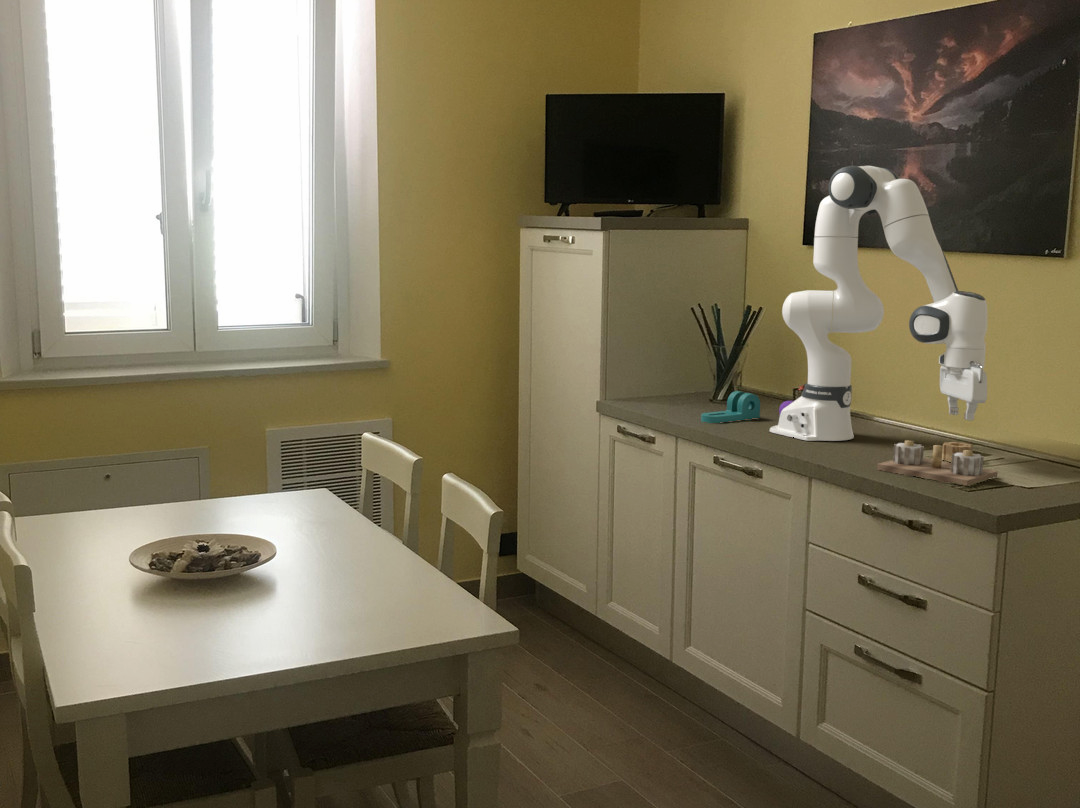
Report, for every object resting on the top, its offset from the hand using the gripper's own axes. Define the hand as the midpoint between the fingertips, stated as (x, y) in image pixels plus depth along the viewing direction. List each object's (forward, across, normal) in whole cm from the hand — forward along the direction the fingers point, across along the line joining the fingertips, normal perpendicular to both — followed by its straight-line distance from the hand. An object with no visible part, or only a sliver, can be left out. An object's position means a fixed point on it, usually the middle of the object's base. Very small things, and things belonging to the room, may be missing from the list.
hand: (961, 417), depth 268 cm
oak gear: (+11, +1, 0) cm, 11 cm away
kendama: (+9, +59, +22) cm, 63 cm away
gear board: (+11, -13, +10) cm, 20 cm away
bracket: (+10, +56, +46) cm, 73 cm away
